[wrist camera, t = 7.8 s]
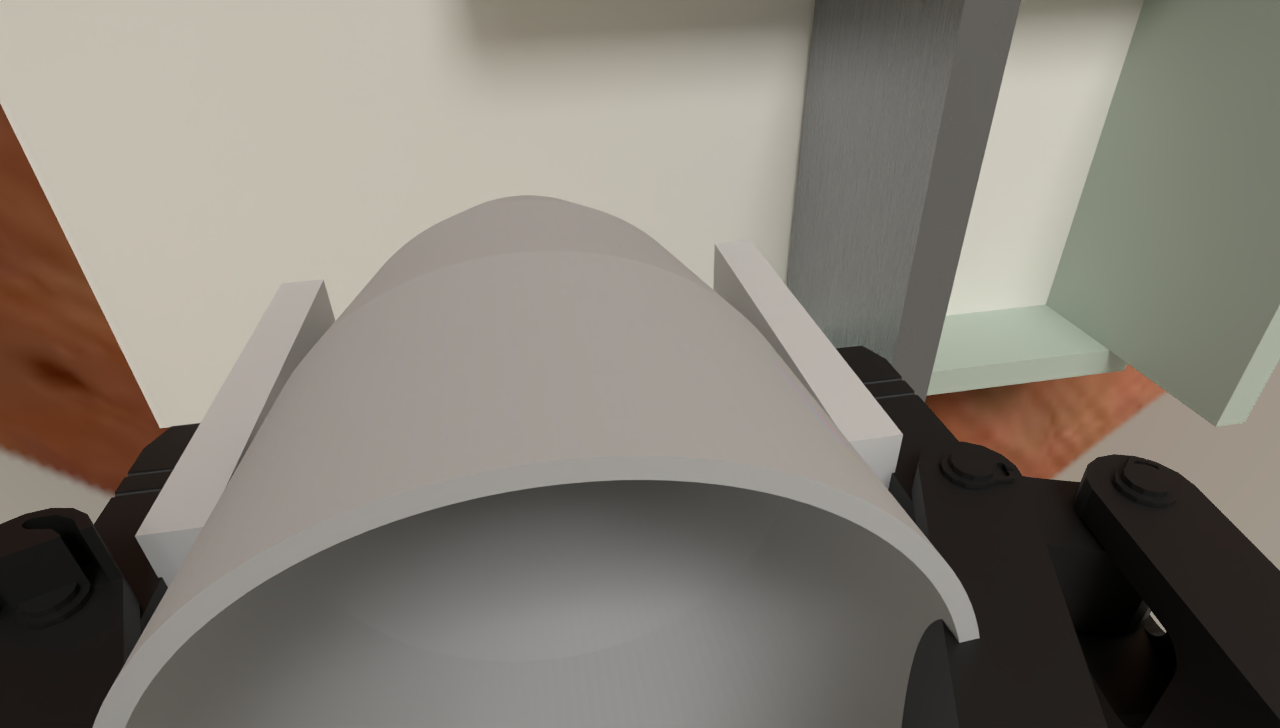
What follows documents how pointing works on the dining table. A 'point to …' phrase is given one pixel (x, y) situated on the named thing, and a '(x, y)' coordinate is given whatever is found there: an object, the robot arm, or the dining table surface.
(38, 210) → the dining table surface
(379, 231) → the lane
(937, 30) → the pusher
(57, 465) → the dining table surface
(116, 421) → the dining table surface
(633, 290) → the cup
